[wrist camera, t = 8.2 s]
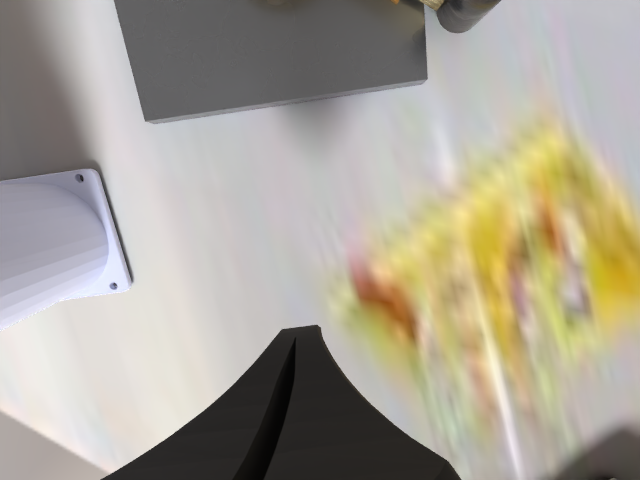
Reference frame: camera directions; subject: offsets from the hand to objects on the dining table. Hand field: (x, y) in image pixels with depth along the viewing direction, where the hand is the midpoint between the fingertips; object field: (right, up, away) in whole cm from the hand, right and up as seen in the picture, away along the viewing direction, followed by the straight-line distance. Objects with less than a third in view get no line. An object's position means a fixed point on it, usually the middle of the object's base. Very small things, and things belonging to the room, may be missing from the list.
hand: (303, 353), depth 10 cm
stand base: (-2, +19, +6) cm, 20 cm away
